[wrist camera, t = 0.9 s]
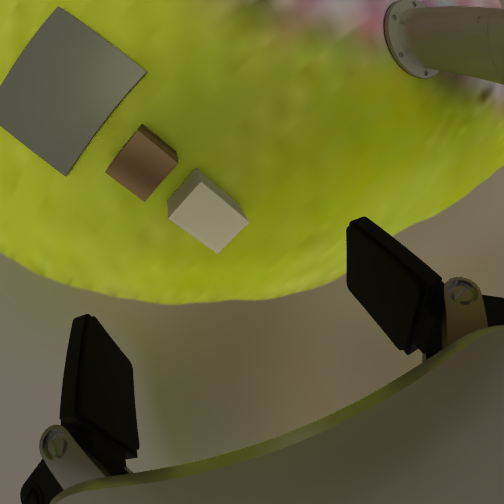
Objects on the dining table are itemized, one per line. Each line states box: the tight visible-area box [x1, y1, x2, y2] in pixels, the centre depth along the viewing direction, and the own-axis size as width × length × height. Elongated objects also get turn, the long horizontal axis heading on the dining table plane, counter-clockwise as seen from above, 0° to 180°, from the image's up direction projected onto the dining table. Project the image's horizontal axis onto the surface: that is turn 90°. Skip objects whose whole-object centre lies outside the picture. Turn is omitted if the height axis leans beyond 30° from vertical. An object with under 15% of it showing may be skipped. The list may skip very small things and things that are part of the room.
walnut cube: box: [105, 124, 178, 201], centre depth 27 cm, size 5×5×5 cm
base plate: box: [0, 7, 147, 176], centre depth 22 cm, size 14×14×1 cm
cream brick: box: [167, 168, 249, 254], centre depth 32 cm, size 5×7×5 cm
